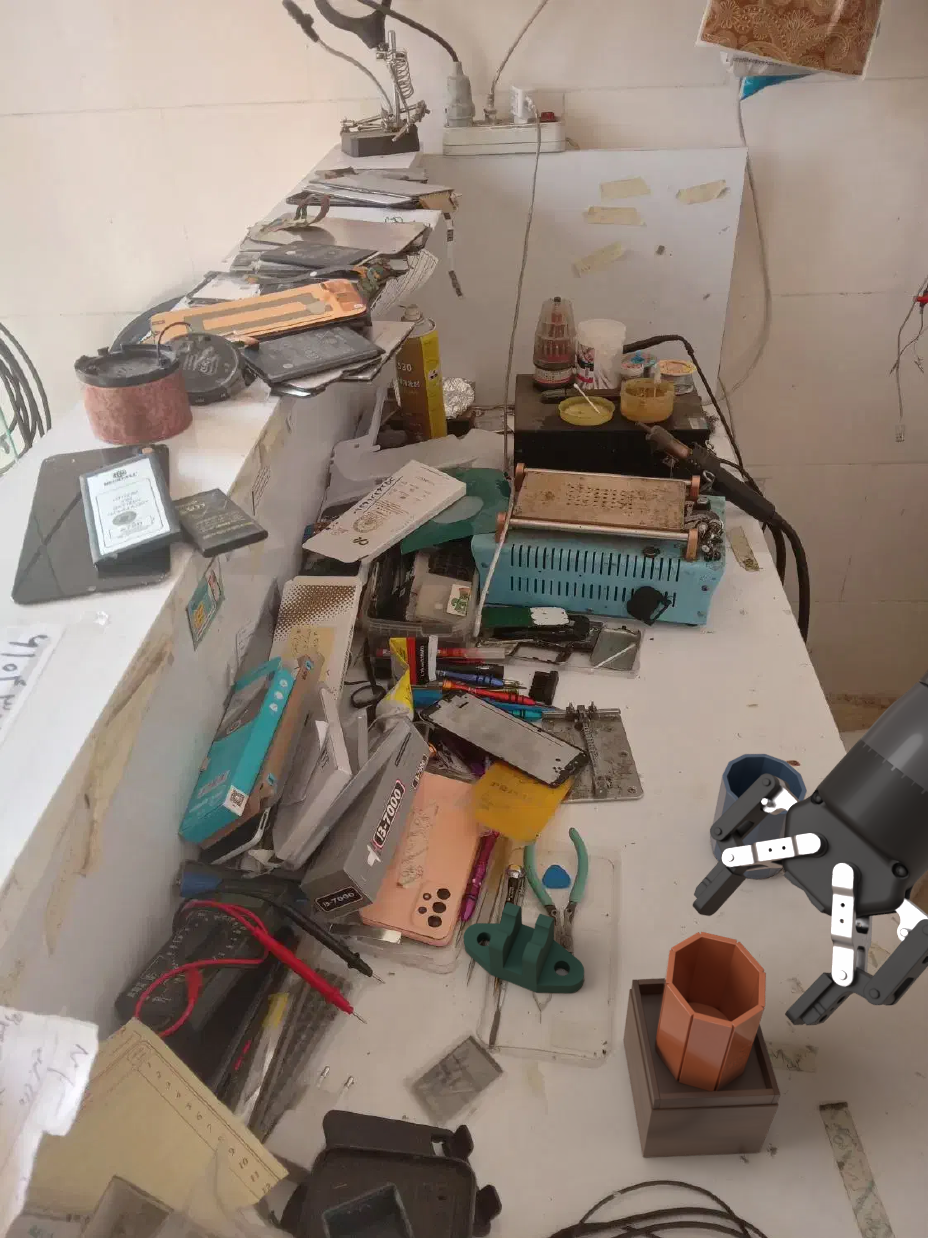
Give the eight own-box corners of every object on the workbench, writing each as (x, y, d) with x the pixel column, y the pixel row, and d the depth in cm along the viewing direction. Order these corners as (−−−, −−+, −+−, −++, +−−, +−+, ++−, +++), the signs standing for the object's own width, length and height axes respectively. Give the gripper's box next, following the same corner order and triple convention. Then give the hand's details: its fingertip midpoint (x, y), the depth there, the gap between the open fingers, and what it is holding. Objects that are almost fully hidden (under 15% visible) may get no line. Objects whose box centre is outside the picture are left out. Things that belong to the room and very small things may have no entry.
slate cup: (802, 859, 78) (823, 793, 72) (746, 891, 76) (762, 826, 70) (750, 808, 83) (765, 743, 77) (695, 837, 81) (707, 772, 75)
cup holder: (728, 1035, 66) (746, 973, 60) (759, 1153, 59) (782, 1096, 53) (623, 1039, 66) (630, 978, 60) (642, 1157, 59) (653, 1101, 54)
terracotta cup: (763, 1060, 57) (786, 994, 51) (694, 1106, 55) (711, 1043, 49) (704, 987, 61) (720, 919, 55) (638, 1027, 59) (648, 960, 53)
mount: (455, 961, 72) (451, 929, 69) (475, 918, 75) (472, 886, 72) (574, 1007, 68) (576, 976, 65) (590, 960, 71) (592, 928, 68)
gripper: (804, 690, 53) (646, 874, 56) (1014, 851, 42) (806, 1065, 46) (846, 719, 58) (699, 886, 61) (1043, 869, 47) (853, 1060, 51)
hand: (745, 963), depth 53 cm, fingers open, 8 cm apart
